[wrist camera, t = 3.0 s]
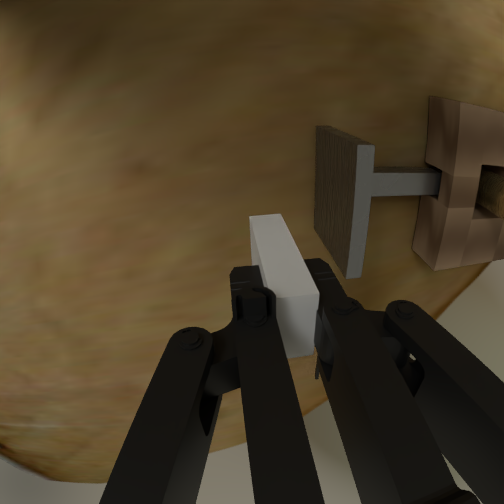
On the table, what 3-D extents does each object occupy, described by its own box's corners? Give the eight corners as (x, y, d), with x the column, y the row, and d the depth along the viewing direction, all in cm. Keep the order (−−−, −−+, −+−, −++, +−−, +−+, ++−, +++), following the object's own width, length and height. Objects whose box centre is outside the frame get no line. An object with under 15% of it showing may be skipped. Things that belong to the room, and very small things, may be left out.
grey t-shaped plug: (315, 125, 21) (357, 144, 15) (432, 131, 22) (492, 154, 16) (313, 228, 25) (345, 279, 19) (421, 220, 26) (469, 261, 20)
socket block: (429, 96, 21) (460, 101, 17) (508, 113, 22) (537, 122, 18) (411, 248, 28) (433, 271, 24) (487, 239, 28) (509, 257, 25)
